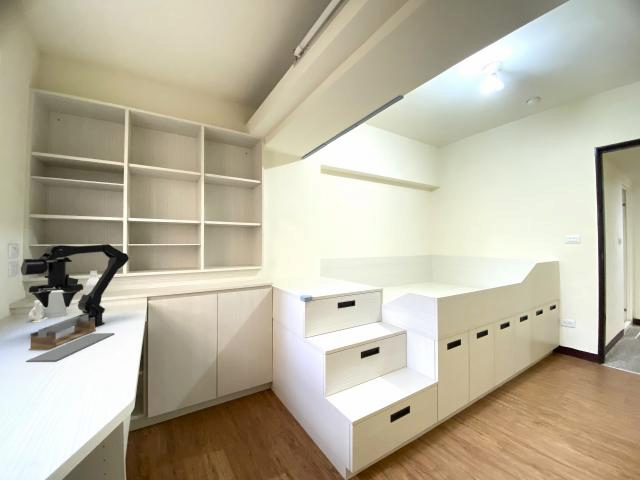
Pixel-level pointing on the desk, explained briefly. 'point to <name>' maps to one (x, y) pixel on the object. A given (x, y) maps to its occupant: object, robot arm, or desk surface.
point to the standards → (54, 342)
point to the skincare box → (55, 305)
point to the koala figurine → (37, 312)
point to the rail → (63, 325)
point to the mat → (70, 348)
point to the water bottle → (91, 282)
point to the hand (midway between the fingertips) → (56, 307)
